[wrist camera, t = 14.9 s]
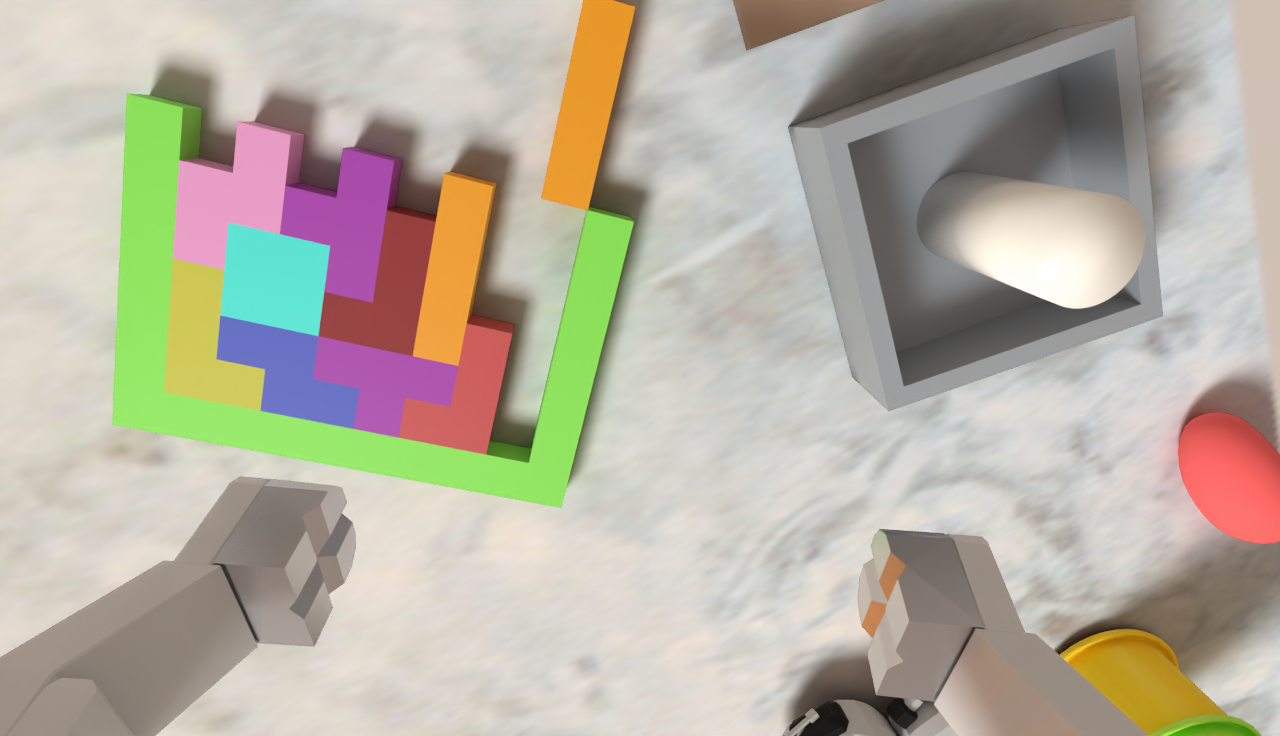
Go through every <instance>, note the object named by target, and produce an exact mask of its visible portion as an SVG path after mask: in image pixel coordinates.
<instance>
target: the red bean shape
mask: <svg viewBox="0 0 1280 736" xmlns="http://www.w3.org/2000/svg"><path fill="white" fill-rule="evenodd" d="M1178 456H1179V467H1180V471H1181V475H1182V479H1183V482H1184V484H1185V486H1186V489H1187V491H1188V493H1189V495H1190V496H1191V498H1192V500H1193V501H1194V503H1195V504H1196V506H1197V507H1198V509H1199V510H1200V511H1201V513H1202V514H1203V515H1204V516H1205V517H1206V518H1207V519H1208V520H1209V521H1210V522H1211V523H1212V524H1214V525H1215V526H1216V527H1217V528H1218V529H1220V530H1221V531H1223V532H1224V533H1226V534H1228V535H1230V536H1232V537H1235V538H1238V539H1241V540H1244V541H1248V542H1253V543H1261V544H1267V543H1275V542H1279V541H1280V455H1279V454H1278V452H1277V451H1276V450H1275V449H1274V447H1273V446H1272V445H1271V444H1270V443H1269V442H1268V441H1267V439H1266V438H1265V437H1264V436H1263V435H1262V434H1261V433H1259V432H1258V431H1257V430H1256V429H1255V428H1254V427H1253V426H1251V425H1250V424H1249V423H1247V422H1246V421H1244V420H1243V419H1242V418H1239V417H1237V416H1234V415H1232V414H1228V413H1221V412H1212V413H1206V414H1202V415H1200V416H1198V417H1196V418H1194V419H1192V420H1191V421H1190V422H1189V423H1188V424H1187V425H1186V426H1185V427H1184V430H1183V432H1182V435H1181V437H1180V442H1179V449H1178Z"/></svg>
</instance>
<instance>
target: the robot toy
mask: <svg viewBox="0 0 1280 736" xmlns="http://www.w3.org/2000/svg"><path fill="white" fill-rule="evenodd" d="M934 703H935V702H933V701H924V700H915V699H906V698H902V699H900V698H896V699H895V700H894V702H893V703H892V704H891V705H890V706H889V707H888V708H887V711H888V713H889V721H890V723H891V725H892V726H893V727H892V726H891V725H890V723H889V722H888V721H887V720H886V719H885V718H884V716H883V715H881V714H880V713H879V712H878V711H877V710H876V709H874V708H873V707H871V706H870V705H868V704H866V703H863V702H860V701H856V700H834V701H833V702H827V703H825V704H823V705H821V706H820V707H818V708H816V709H813V708H811V709H810V710H809V711H808V712H807V713H806V714H805V715H804V716H802V717H800V718H798V719H796V720H795V721H793V722H792V724H791V725H790V726H788V727H787V729H786V730H785V732H784V734H783V735H782V736H958V735H957V734H956V733H955V731H954V730H953V729H952V727H951V726H950V725H949V724H948V722H947V721H946V720H945V718H944V717H943V716H942V714H941V713H940V712H939V711H938V709H937V708H936V707H935V705H934Z"/></svg>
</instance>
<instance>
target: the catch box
mask: <svg viewBox="0 0 1280 736" xmlns="http://www.w3.org/2000/svg"><path fill="white" fill-rule="evenodd" d="M788 129H789V132H790V136H791V140H792V144H793V148H794V152H795V156H796V160H797V164H798V167H799V171H800V175H801V179H802V183H803V187H804V191H805V195H806V199H807V202H808V206H809V210H810V214H811V218H812V222H813V226H814V230H815V234H816V237H817V241H818V245H819V249H820V253H821V257H822V261H823V265H824V268H825V272H826V276H827V280H828V284H829V288H830V292H831V296H832V300H833V303H834V307H835V311H836V315H837V319H838V323H839V327H840V331H841V335H842V338H843V342H844V346H845V350H846V354H847V358H848V362H849V366H850V370H851V373H852V377H853V378H854V379H855V380H856V381H857V382H858V383H859V384H860V385H861V386H862V387H863V388H864V389H866V390H867V391H868V392H869V393H870V394H871V395H872V396H873V397H874V398H875V399H876V400H877V401H878V402H879V403H880V404H882V405H883V406H884V407H885V408H886V409H887V410H888V411H891V410H894V409H897V408H899V407H902V406H905V405H908V404H911V403H914V402H917V401H920V400H923V399H925V398H928V397H931V396H934V395H937V394H940V393H943V392H946V391H948V390H951V389H954V388H957V387H960V386H963V385H966V384H969V383H972V382H974V381H977V380H980V379H983V378H986V377H989V376H992V375H995V374H998V373H1000V372H1003V371H1006V370H1009V369H1012V368H1015V367H1018V366H1021V365H1023V364H1026V363H1029V362H1032V361H1035V360H1038V359H1041V358H1044V357H1047V356H1049V355H1052V354H1055V353H1058V352H1061V351H1064V350H1067V349H1070V348H1073V347H1075V346H1078V345H1081V344H1084V343H1087V342H1090V341H1093V340H1096V339H1098V338H1101V337H1104V336H1107V335H1110V334H1113V333H1116V332H1119V331H1122V330H1124V329H1127V328H1130V327H1133V326H1136V325H1139V324H1142V323H1145V322H1147V321H1150V320H1153V319H1156V318H1159V317H1162V316H1163V311H1162V300H1161V290H1160V279H1159V268H1158V258H1157V247H1156V237H1155V226H1154V215H1153V205H1152V194H1151V183H1150V173H1149V162H1148V152H1147V141H1146V130H1145V120H1144V109H1143V98H1142V88H1141V77H1140V67H1139V56H1138V45H1137V35H1136V24H1135V15H1132V16H1126V17H1121V18H1116V19H1110V20H1105V21H1099V22H1094V23H1088V24H1083V25H1077V26H1072V27H1066V28H1061V29H1058V30H1055V31H1052V32H1050V33H1047V34H1044V35H1041V36H1039V37H1036V38H1033V39H1030V40H1028V41H1025V42H1022V43H1019V44H1016V45H1014V46H1011V47H1008V48H1005V49H1003V50H1000V51H997V52H994V53H992V54H989V55H986V56H983V57H981V58H978V59H975V60H972V61H969V62H967V63H964V64H961V65H958V66H956V67H953V68H950V69H947V70H945V71H942V72H939V73H936V74H933V75H931V76H928V77H925V78H922V79H920V80H917V81H914V82H911V83H909V84H906V85H903V86H900V87H897V88H895V89H892V90H889V91H886V92H884V93H881V94H878V95H875V96H873V97H870V98H867V99H864V100H861V101H859V102H856V103H853V104H850V105H848V106H845V107H842V108H839V109H837V110H834V111H831V112H828V113H825V114H823V115H820V116H817V117H814V118H812V119H809V120H806V121H803V122H801V123H798V124H795V125H792V126H789V127H788ZM957 172H974V173H980V174H987V175H993V176H999V177H1005V178H1012V179H1018V180H1024V181H1031V182H1037V183H1043V184H1049V185H1056V186H1062V187H1068V188H1075V189H1081V190H1087V191H1093V192H1100V193H1106V194H1112V195H1116V196H1119V197H1121V198H1123V199H1125V200H1127V201H1128V202H1129V203H1131V204H1132V205H1133V206H1134V207H1135V208H1136V210H1137V211H1138V213H1139V214H1140V216H1141V218H1142V221H1143V224H1144V228H1145V248H1144V252H1143V256H1142V259H1141V262H1140V264H1139V266H1138V268H1137V270H1136V272H1135V274H1134V275H1133V277H1132V278H1131V279H1130V281H1129V282H1128V283H1127V284H1126V285H1125V286H1124V287H1123V288H1122V289H1121V290H1120V291H1119V292H1118V293H1117V294H1116V295H1114V296H1113V297H1111V298H1110V299H1108V300H1106V301H1104V302H1103V303H1100V304H1098V305H1095V306H1092V307H1088V308H1081V309H1073V308H1066V307H1063V306H1060V305H1057V304H1055V303H1052V302H1050V301H1047V300H1045V299H1042V298H1040V297H1037V296H1035V295H1032V294H1030V293H1027V292H1025V291H1022V290H1020V289H1017V288H1015V287H1013V286H1010V285H1008V284H1005V283H1003V282H1000V281H998V280H995V279H993V278H990V277H988V276H985V275H983V274H980V273H978V272H975V271H973V270H970V269H968V268H965V267H963V266H960V265H958V264H956V263H953V262H951V261H948V260H946V259H943V258H941V257H938V256H936V255H934V254H933V253H931V252H930V251H929V250H927V249H926V247H925V246H924V245H923V243H922V242H921V240H920V238H919V235H918V231H917V213H918V209H919V206H920V204H921V201H922V199H923V198H924V196H925V194H926V193H927V192H928V190H929V189H930V188H931V187H932V186H933V185H934V184H935V183H936V182H938V181H939V180H940V179H942V178H944V177H946V176H948V175H950V174H953V173H957Z"/></svg>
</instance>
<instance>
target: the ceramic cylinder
mask: <svg viewBox="0 0 1280 736" xmlns="http://www.w3.org/2000/svg"><path fill="white" fill-rule="evenodd" d="M917 231H918V235H919V238H920V240H921V242H922V243H923V245H924V246H925V247H926V249H927V250H929V251H930V252H931V253H933V254H934V255H936V256H938V257H941V258H943V259H946V260H948V261H951V262H953V263H956V264H958V265H960V266H963V267H965V268H968V269H970V270H973V271H975V272H978V273H980V274H983V275H985V276H988V277H990V278H993V279H995V280H998V281H1000V282H1003V283H1005V284H1008V285H1010V286H1013V287H1015V288H1017V289H1020V290H1022V291H1025V292H1027V293H1030V294H1032V295H1035V296H1037V297H1040V298H1042V299H1045V300H1047V301H1050V302H1052V303H1055V304H1057V305H1060V306H1063V307H1066V308H1073V309H1081V308H1088V307H1092V306H1095V305H1098V304H1100V303H1103V302H1104V301H1106V300H1108V299H1110V298H1111V297H1113V296H1114V295H1116V294H1117V293H1118V292H1119V291H1120V290H1121V289H1122V288H1123V287H1124V286H1125V285H1126V284H1127V283H1128V282H1129V281H1130V279H1131V278H1132V277H1133V275H1134V274H1135V272H1136V270H1137V268H1138V266H1139V264H1140V262H1141V259H1142V256H1143V252H1144V248H1145V228H1144V224H1143V221H1142V218H1141V216H1140V214H1139V213H1138V211H1137V210H1136V208H1135V207H1134V206H1133V205H1132V204H1131V203H1129V202H1128V201H1127V200H1125V199H1123V198H1121V197H1119V196H1116V195H1112V194H1106V193H1100V192H1093V191H1087V190H1081V189H1075V188H1068V187H1062V186H1056V185H1049V184H1043V183H1037V182H1031V181H1024V180H1018V179H1012V178H1005V177H999V176H993V175H987V174H980V173H974V172H957V173H953V174H950V175H948V176H946V177H944V178H942V179H940V180H939V181H938V182H936V183H935V184H934V185H933V186H932V187H931V188H930V189H929V190H928V192H927V193H926V194H925V196H924V198H923V199H922V201H921V204H920V206H919V209H918V213H917Z"/></svg>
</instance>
